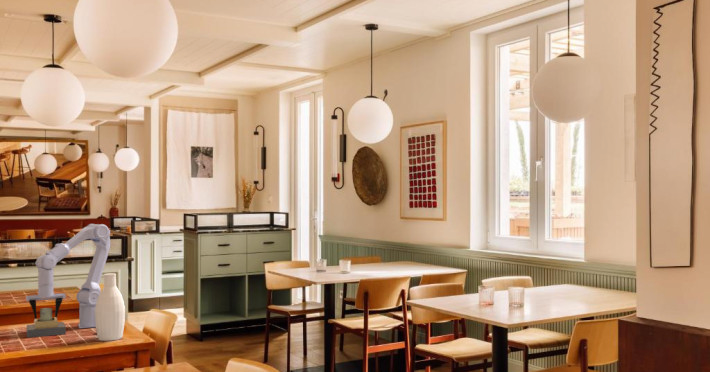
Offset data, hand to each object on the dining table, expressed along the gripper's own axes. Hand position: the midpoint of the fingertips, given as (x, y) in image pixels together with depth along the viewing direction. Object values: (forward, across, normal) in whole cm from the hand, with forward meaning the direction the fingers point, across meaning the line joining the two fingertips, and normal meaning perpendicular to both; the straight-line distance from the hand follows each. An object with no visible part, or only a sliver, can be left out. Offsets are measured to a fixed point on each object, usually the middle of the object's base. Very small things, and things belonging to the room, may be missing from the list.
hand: (45, 317), depth 279 cm
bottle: (+7, -22, +24) cm, 33 cm away
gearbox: (+6, 0, 0) cm, 6 cm away
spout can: (+3, 0, 0) cm, 3 cm away
